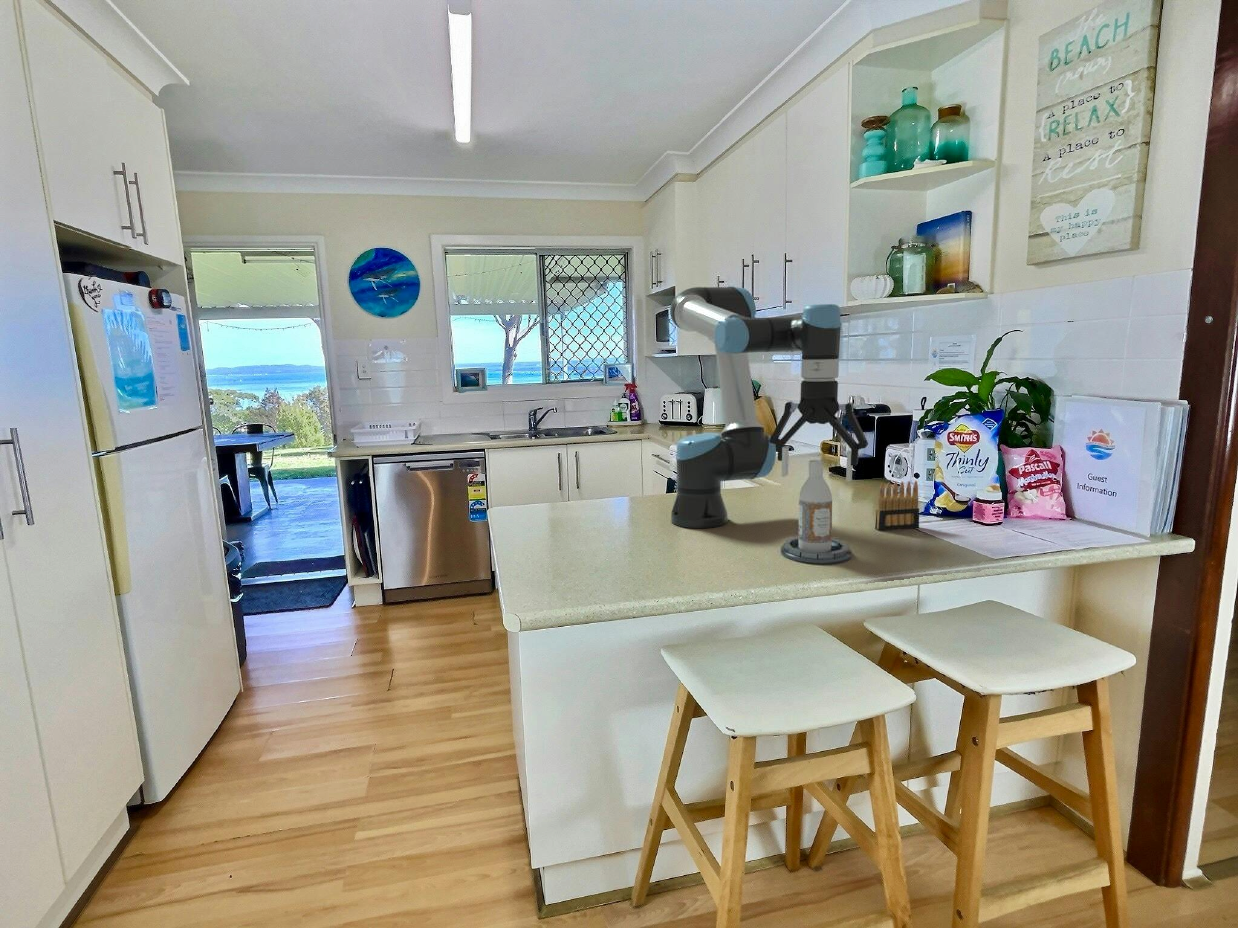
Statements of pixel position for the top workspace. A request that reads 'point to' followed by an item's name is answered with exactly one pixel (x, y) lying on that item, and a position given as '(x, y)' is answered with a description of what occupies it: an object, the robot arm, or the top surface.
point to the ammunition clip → (897, 508)
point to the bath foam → (815, 511)
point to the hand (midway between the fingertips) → (816, 477)
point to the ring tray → (834, 556)
